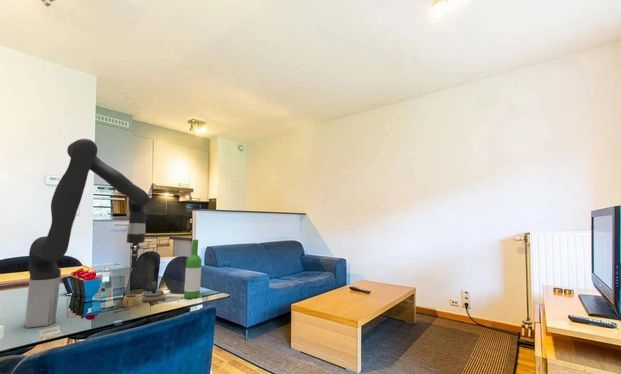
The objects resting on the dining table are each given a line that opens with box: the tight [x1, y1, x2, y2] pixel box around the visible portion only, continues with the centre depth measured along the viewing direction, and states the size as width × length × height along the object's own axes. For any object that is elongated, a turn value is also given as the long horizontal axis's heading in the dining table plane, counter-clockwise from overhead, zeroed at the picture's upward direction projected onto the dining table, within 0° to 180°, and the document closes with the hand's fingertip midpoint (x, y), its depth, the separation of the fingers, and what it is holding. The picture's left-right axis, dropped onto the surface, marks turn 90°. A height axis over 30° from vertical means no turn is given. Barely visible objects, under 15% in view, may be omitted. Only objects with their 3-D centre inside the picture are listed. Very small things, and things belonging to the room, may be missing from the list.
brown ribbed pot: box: [122, 294, 139, 308], centre depth 146 cm, size 6×6×4 cm
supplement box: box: [93, 272, 104, 299], centre depth 152 cm, size 7×7×13 cm
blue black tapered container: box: [61, 275, 106, 295], centre depth 165 cm, size 16×13×9 cm
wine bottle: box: [183, 239, 202, 299], centre depth 164 cm, size 8×8×30 cm
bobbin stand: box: [141, 281, 166, 304], centre depth 159 cm, size 16×10×8 cm, turn 29°
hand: (133, 266), depth 148 cm, fingers open, 8 cm apart
